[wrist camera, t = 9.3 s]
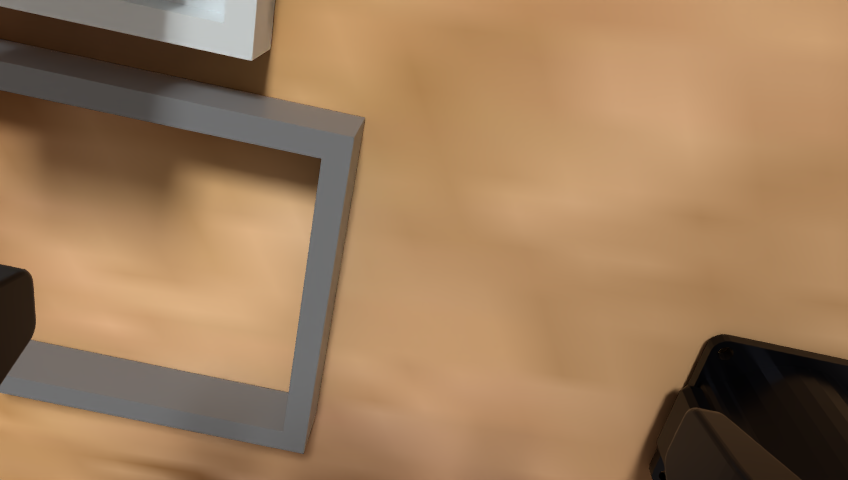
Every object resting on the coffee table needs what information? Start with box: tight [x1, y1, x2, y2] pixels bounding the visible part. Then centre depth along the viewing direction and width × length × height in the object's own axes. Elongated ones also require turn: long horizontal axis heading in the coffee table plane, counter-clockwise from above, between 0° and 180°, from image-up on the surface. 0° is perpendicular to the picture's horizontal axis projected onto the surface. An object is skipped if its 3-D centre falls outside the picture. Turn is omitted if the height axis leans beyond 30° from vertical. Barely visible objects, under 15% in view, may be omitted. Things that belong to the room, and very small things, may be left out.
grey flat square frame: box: [0, 39, 365, 454], centre depth 21 cm, size 12×12×2 cm
